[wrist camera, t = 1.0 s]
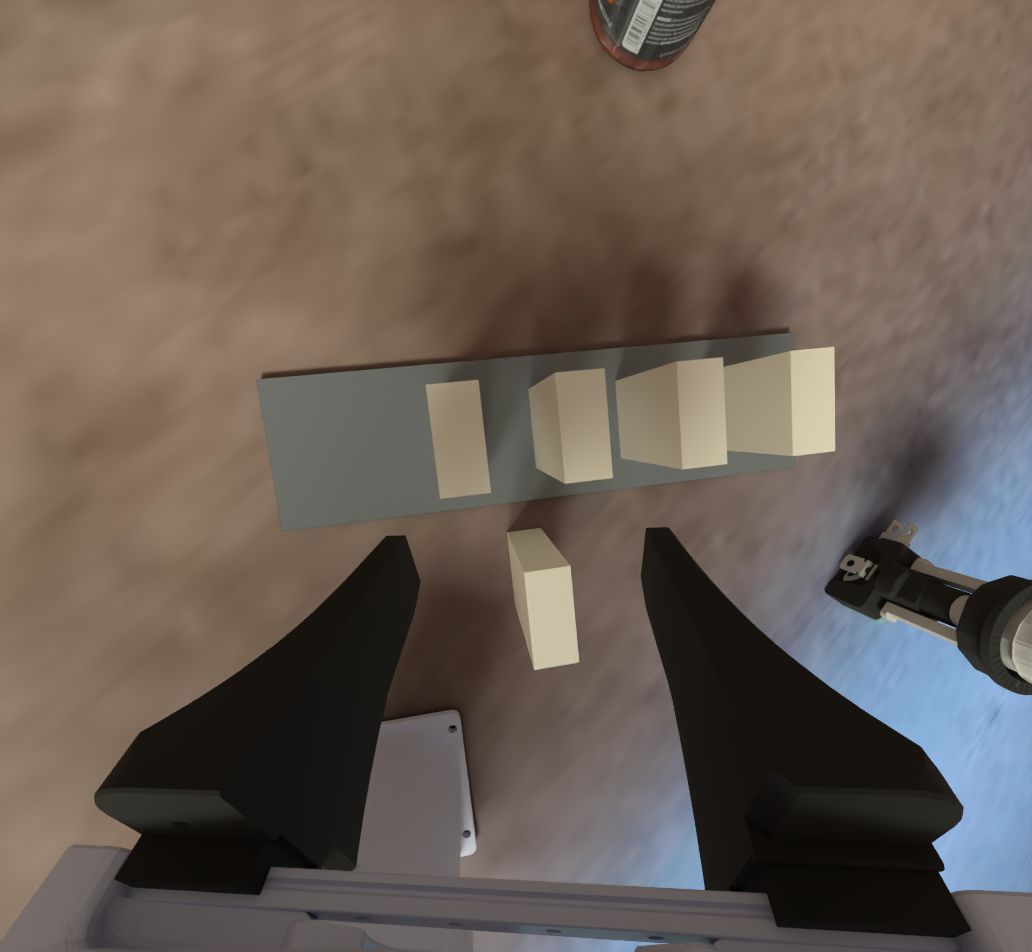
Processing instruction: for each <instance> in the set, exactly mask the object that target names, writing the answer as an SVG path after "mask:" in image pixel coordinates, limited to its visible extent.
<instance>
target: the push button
mask: <svg viewBox="0 0 1032 952" xmlns="http://www.w3.org/2000/svg"><path fill="white" fill-rule="evenodd" d="M894 526H896V527H897V530H896V531H895V532H893V530H892V529H893V527H894ZM902 528H903V525H902V524H901V523H900V522H898V521H897V520H893V522H892V523H891V525H890V526H889V528H888V529H887V530H886V532H883V533H882V534H881V536H880V537H879V539H878V538H875V537H868V538H866V539H865V540H864V542H863V543H862V545H861V546H860V548H859V549H858V551H857V552H856V553H855V555H851V554H849V555H847V556H846V557H845V558H844V560H843V561H842V562H841V564H840V568H841V569H843V570H844V571H843V572H842V574H841V575H840V577H839V578H838V580H837V581H831V582H830V583H829V584H828V586H827V587H826V589H825V592H826V593H827V594H828V595H829V596H831V597H832V598H834V599H835V600H837V601H838V602H840V603H841V604H842V605H844V606H845V607H847V608H848V609H850V610H852V611H854V612H856V613H858V614H860V615H862V616H865V617H867V618H869V619H871V620H873V621H875V622H877V623H880V624H884V623H886V622H887V621H890V622H893V623H895V622H896V621H897V620H900V621H902V622H904V623H907V624H909V625H911V626H913V627H916V628H918V629H920V630H922V631H925V632H927V633H929V634H932V635H934V636H936V637H938V638H941V639H943V640H945V641H947V642H950V643H952V644H954V645H957V646H958V649H959V650H960V651H961V652H962V654H963V655H964V656H965V657H966V658H967V660H968V661H969V662H970V663H971V665H972V666H973V667H974V668H975V669H976V670H978V671H980V672H983V673H985V674H987V675H989V677H990V678H991V679H992V680H993V681H994V682H995V683H997V684H998V685H1000V686H1002V687H1003V688H1006V689H1008V690H1010V691H1012V692H1014V693H1017V694H1022V695H1032V580H1028V579H1024V578H1021V577H1017V576H1013V575H1010V576H1006V577H1003V578H1000V579H997V580H994V581H991V582H986V581H983V580H979V579H976V578H973V577H969V576H966V575H962V574H959V573H956V572H952V571H949V570H945V569H942V568H938V567H935V566H934V565H933V564H932V563H931V562H930V561H928V560H926V559H922V558H921V557H920V556H919V555H917V554H916V553H915V552H913V551H912V550H911V549H909V546H910V544H909V543H910V541H911V540H912V538H913V537H914V535H915V534H916V532H917V531H918V528H917V527H916V526H914V525H913V524H912V523H908V525H907V526H906V527H905V529H904V530H903V532H902V533H901V535H900V536H898V533H899V532H900V531H901V529H902ZM909 529H911V531H912V533H911V534H910V535H908V534H907V531H908V530H909ZM896 536H897V537H896ZM894 539H895V540H894ZM850 560H851V561H850ZM849 561H850V562H849ZM848 562H849V564H848V565H847V563H848ZM944 584H945V585H944ZM946 585H948V586H946ZM949 586H951V587H949ZM952 587H954V588H952ZM955 588H957V589H955ZM958 589H960V590H958ZM961 590H963V591H961ZM964 591H966V592H964ZM967 592H969V593H967ZM970 593H972V594H970ZM936 621H940V622H943V623H945V624H948V625H950V626H953V627H955V628H956V630H955V629H953V628H950V627H948V626H945V625H943V624H940V623H938V622H936Z"/></svg>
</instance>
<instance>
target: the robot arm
mask: <svg viewBox="0 0 1032 952" xmlns="http://www.w3.org/2000/svg"><path fill="white" fill-rule="evenodd" d="M641 580H642V586H643V592H644V598H645V604H646V609H647V613H648V616H649V620H650V623H651V627H652V630H653V633H654V637H655V640H656V643H657V647H658V650H659V654H660V657H661V660H662V664H663V667H664V670H665V674H666V677H667V680H668V684H669V688H670V692H671V696H672V700H673V705H674V710H675V715H676V720H677V725H678V730H679V735H680V741H681V746H682V752H683V757H684V762H685V768H686V773H687V779H688V785H689V791H690V797H691V802H692V808H693V814H694V820H695V826H696V833H697V839H698V846H699V852H700V858H701V865H702V871H703V878H704V885H705V890H692V889H674V888H655V887H637V886H618V885H600V884H581V883H562V882H544V881H525V880H507V879H488V878H470V877H460V857H462V856H467V855H471V854H473V853H474V852H475V850H476V847H477V844H476V834H475V827H474V819H473V811H472V804H471V796H470V788H469V780H468V773H467V765H466V757H465V750H464V742H463V734H462V727H461V719H460V714H459V713H458V712H457V711H456V710H447V711H441V712H435V713H430V714H424V715H418V716H412V717H407V718H401V719H395V720H390V721H384V722H382V718H383V713H384V709H385V705H386V700H387V696H388V693H389V689H390V686H391V682H392V679H393V676H394V673H395V670H396V667H397V664H398V661H399V658H400V655H401V652H402V649H403V646H404V643H405V640H406V637H407V634H408V631H409V628H410V624H411V621H412V618H413V615H414V612H415V607H416V602H417V597H418V591H419V586H420V578H419V575H418V572H417V569H416V566H415V563H414V560H413V557H412V554H411V551H410V548H409V545H408V542H407V539H406V536H405V535H404V536H386V537H385V538H384V539H383V540H382V541H381V542H380V543H379V544H378V546H377V547H376V548H375V549H374V550H373V551H372V552H371V553H370V554H369V555H368V556H367V557H366V559H365V560H364V561H363V562H362V563H361V564H360V565H359V566H358V567H357V568H356V569H355V570H354V572H353V573H352V574H351V575H350V576H349V577H348V578H347V579H346V580H345V581H344V582H343V583H342V584H341V585H340V586H339V587H338V588H337V589H336V590H335V591H334V592H333V593H332V594H331V595H330V596H329V597H328V598H327V599H326V600H325V601H324V602H323V603H322V604H321V605H320V606H319V607H318V608H317V609H316V610H315V611H314V612H313V613H312V614H310V615H309V616H308V617H307V618H306V619H305V620H304V621H303V622H302V623H300V624H299V625H298V626H297V627H296V628H295V629H293V630H292V631H291V632H290V633H289V634H287V635H286V636H285V637H284V638H283V639H281V640H280V641H279V642H278V643H276V644H275V645H274V646H273V647H271V648H270V649H269V650H267V651H266V652H265V653H263V654H262V655H260V656H259V657H258V658H256V659H255V660H254V661H252V662H251V663H250V664H248V665H247V666H246V667H244V668H243V669H242V670H240V671H239V672H237V673H236V674H234V675H233V676H232V677H230V678H229V679H227V680H226V681H224V682H223V683H221V684H220V685H218V686H217V687H215V688H214V689H212V690H210V691H209V692H207V693H206V694H204V695H203V696H201V697H200V698H198V699H196V700H195V701H193V702H192V703H190V704H188V705H187V706H185V707H183V708H181V709H180V710H178V711H176V712H175V713H173V714H171V715H169V716H168V717H166V718H164V719H163V720H161V721H159V722H158V723H156V724H154V725H152V726H151V727H149V728H147V729H145V730H143V731H142V732H140V733H139V735H138V736H137V737H136V738H135V740H134V741H133V743H132V744H131V745H130V747H129V748H128V749H127V751H126V752H125V753H124V755H123V756H122V757H121V759H120V760H119V762H118V763H117V764H116V766H115V767H114V768H113V770H112V771H111V772H110V774H109V775H108V776H107V778H106V779H105V781H104V782H103V783H102V785H101V786H100V787H99V789H98V790H97V791H96V793H95V796H94V800H95V804H96V806H97V807H98V808H99V809H100V810H101V811H103V812H104V813H106V814H107V815H109V816H110V817H112V818H114V819H116V820H118V821H119V822H121V823H123V824H125V825H126V826H128V827H130V828H132V829H133V830H135V831H137V832H139V833H140V834H142V835H141V837H140V838H139V840H138V842H137V843H136V845H135V846H134V848H133V850H129V849H125V848H121V847H113V846H95V845H72V846H70V847H68V848H67V850H66V851H65V853H64V854H63V855H62V857H61V858H60V860H59V861H58V862H57V864H56V865H55V867H54V868H53V869H52V871H51V872H50V874H49V875H48V876H47V878H46V879H45V880H44V882H43V883H42V885H41V886H40V887H39V889H38V890H37V892H36V893H35V894H34V896H33V897H32V899H31V900H30V901H29V903H28V904H27V906H26V907H25V908H24V910H23V911H22V913H21V914H20V915H19V917H18V918H17V920H16V921H15V922H14V924H13V925H12V926H11V928H10V929H9V931H8V932H7V933H6V935H5V936H4V938H3V939H2V940H1V942H0V952H473V933H472V931H470V930H476V931H491V932H506V933H521V934H536V935H551V936H566V937H581V938H595V939H610V940H625V941H640V942H655V943H670V944H660V945H647V946H637V948H636V950H635V951H634V952H1032V893H1023V892H1004V891H984V890H964V891H957V892H953V893H950V891H949V890H948V888H947V886H946V884H945V883H944V881H943V879H942V877H941V876H940V874H939V872H942V871H943V870H945V868H944V863H943V862H942V860H941V858H940V857H939V855H938V853H937V851H936V850H935V848H934V846H933V844H932V842H934V841H935V840H936V839H938V838H939V837H941V836H942V835H943V834H945V833H946V832H948V831H949V830H950V829H952V828H953V827H955V826H956V825H957V824H958V823H959V822H960V821H961V819H962V815H963V808H964V807H963V806H962V804H961V803H960V801H959V800H958V798H957V797H956V795H955V794H954V792H953V791H952V789H951V788H950V786H949V785H948V783H947V781H946V780H945V779H944V777H943V776H942V774H941V773H940V771H939V770H938V768H937V767H936V766H935V765H934V763H933V762H932V761H931V759H930V758H929V757H928V756H927V754H926V753H925V752H924V750H923V749H922V747H920V746H919V745H917V744H916V743H914V742H912V741H911V740H909V739H908V738H906V737H905V736H903V735H901V734H900V733H898V732H897V731H895V730H894V729H892V728H890V727H889V726H887V725H886V724H884V723H883V722H881V721H879V720H878V719H876V718H875V717H873V716H872V715H870V714H868V713H867V712H865V711H864V710H862V709H861V708H859V707H858V706H857V705H855V704H854V703H852V702H851V701H849V700H848V699H847V698H845V697H844V696H842V695H841V694H839V693H838V692H837V691H835V690H834V689H832V688H831V687H829V686H828V685H827V684H825V683H824V682H823V681H822V680H820V679H819V678H818V677H816V676H815V675H814V674H813V673H811V672H810V671H809V670H807V669H806V668H805V667H803V666H802V665H801V664H800V663H798V662H797V661H796V660H794V659H793V658H792V657H791V656H789V655H788V654H787V653H786V652H785V651H783V650H782V649H781V648H780V647H779V646H778V645H776V644H775V643H774V642H773V641H772V640H771V639H769V638H768V637H767V636H766V635H765V634H764V633H763V632H762V631H761V630H759V629H758V628H757V627H756V626H755V625H754V624H753V623H752V622H751V621H750V620H749V619H748V618H747V617H746V616H745V615H744V614H743V613H742V612H741V611H740V610H739V609H738V608H737V607H736V606H735V605H734V604H733V603H732V602H731V601H730V600H729V599H728V598H727V597H726V596H725V595H724V594H723V593H722V592H721V591H720V590H719V588H718V587H717V586H716V585H715V584H714V583H713V582H712V581H711V579H710V578H709V577H708V576H707V575H706V574H705V573H704V571H703V570H702V569H701V568H700V567H699V565H698V564H697V563H696V562H695V561H694V559H693V558H692V557H691V556H690V554H689V553H688V552H687V551H686V549H685V548H684V547H683V545H682V544H681V543H680V542H679V540H678V539H677V537H676V536H675V535H674V533H673V532H672V531H671V530H670V529H669V528H668V527H660V528H646V533H645V542H644V552H643V561H642V571H641ZM451 725H455V726H456V728H454V729H451V728H449V726H451ZM465 830H469V831H468V832H464V831H465Z"/></svg>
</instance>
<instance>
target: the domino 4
mask: <svg viewBox="0 0 1032 952" xmlns="http://www.w3.org/2000/svg"><path fill="white" fill-rule="evenodd" d="M615 384H616V398H617V412H618V426H619V439H620V453H621V458H623V459H629V460H634V461H639V462H645V463H650V464H655V465H661V466H666V467H671V468H677V469H682V470H683V469H691V468H699V467H708V466H716V465H724V464H727V441H726V417H725V394H724V370H723V357H720V358H709V359H698V360H687V361H676V362H673V363H670V364H667V365H664V366H661V367H658V368H654V369H651V370H648V371H645V372H642V373H639V374H636V375H632V376H629V377H626V378H623V379H620V380H617V381H615Z"/></svg>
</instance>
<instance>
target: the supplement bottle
mask: <svg viewBox="0 0 1032 952" xmlns="http://www.w3.org/2000/svg"><path fill="white" fill-rule="evenodd" d="M714 2H715V0H590V12H591V20H592V23H593V27H594V30H595V32H596V35H597V37H598V39H599V41H600V43H601V44H602V46H603V48H604V50H605V51H606V52H607V53H608V54H609V55H610V56H611V57H612V58H614V59H615V60H616V61H618V62H619V63H621V64H622V65H624V66H626V67H627V68H631V69H633V70H639V71H648V70H649V71H653V70H657V69H660V68H662V67H665V66H667V65H669V64H670V63H672V62H673V61H675V60H676V59H677V58H678V57H679V56H680V55H681V54H682V53H683V52H684V50H685V49H686V48H687V46H688V45H689V43H690V41H691V40H692V38H693V37H694V35H695V34H696V32H697V31H698V29H699V28H700V26H701V24H702V22H703V21H704V19H705V17H706V15H707V14H708V12H709V10H710V9H711V7H712V5H713V4H714Z"/></svg>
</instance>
